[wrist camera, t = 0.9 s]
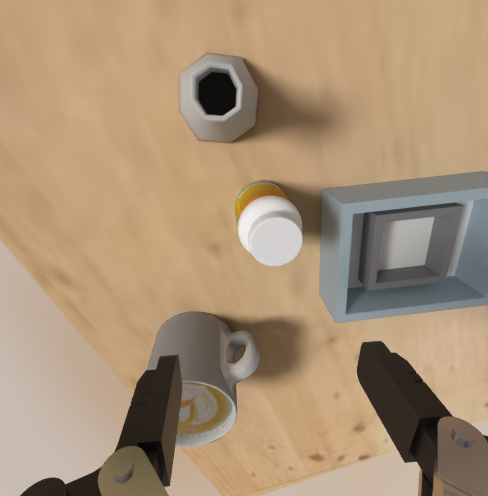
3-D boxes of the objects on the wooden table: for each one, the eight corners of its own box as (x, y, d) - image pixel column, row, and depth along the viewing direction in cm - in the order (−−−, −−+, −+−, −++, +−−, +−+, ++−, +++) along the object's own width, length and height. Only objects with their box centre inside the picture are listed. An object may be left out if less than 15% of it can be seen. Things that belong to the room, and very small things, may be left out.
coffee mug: (175, 378, 39) (161, 457, 30) (142, 325, 35) (114, 398, 26) (267, 351, 38) (281, 424, 29) (245, 293, 34) (253, 357, 25)
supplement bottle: (224, 196, 29) (225, 231, 20) (270, 169, 28) (293, 193, 19) (250, 238, 31) (261, 286, 22) (294, 213, 30) (323, 253, 21)
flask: (266, 133, 27) (289, 141, 18) (192, 152, 27) (177, 171, 18) (249, 41, 23) (265, -5, 14) (165, 65, 24) (130, 33, 15)
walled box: (321, 189, 29) (342, 204, 24) (482, 171, 29) (534, 182, 25) (319, 293, 35) (335, 323, 30) (454, 277, 35) (492, 304, 30)
